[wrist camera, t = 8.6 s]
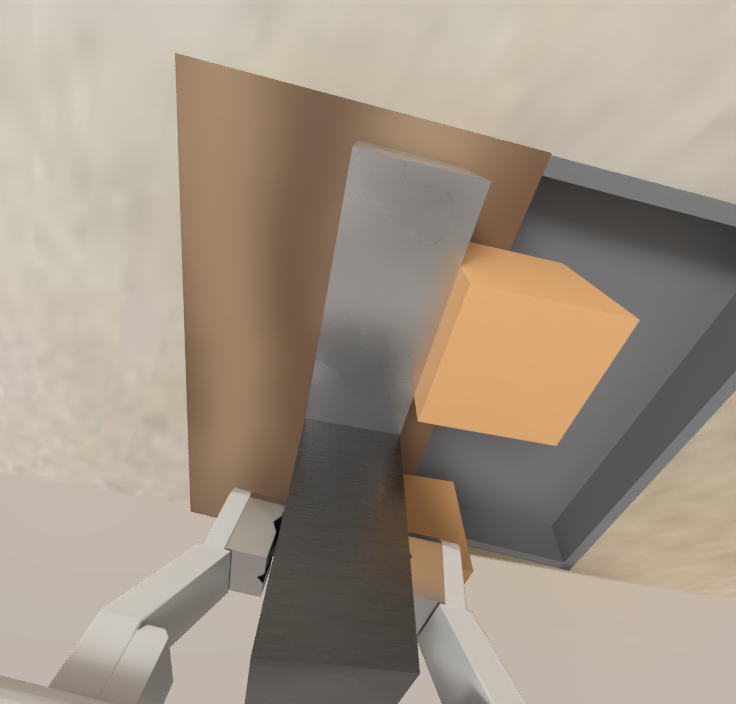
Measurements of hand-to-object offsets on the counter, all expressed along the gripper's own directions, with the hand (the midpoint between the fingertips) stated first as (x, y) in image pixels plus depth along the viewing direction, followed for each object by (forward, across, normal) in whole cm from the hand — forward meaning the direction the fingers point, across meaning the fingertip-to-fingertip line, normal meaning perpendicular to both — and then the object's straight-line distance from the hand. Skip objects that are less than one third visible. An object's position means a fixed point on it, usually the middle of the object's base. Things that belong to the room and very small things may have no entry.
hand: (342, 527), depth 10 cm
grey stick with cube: (+5, +1, 0) cm, 5 cm away
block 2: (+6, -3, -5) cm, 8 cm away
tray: (+11, -9, 0) cm, 14 cm away
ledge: (+11, +2, 0) cm, 11 cm away
